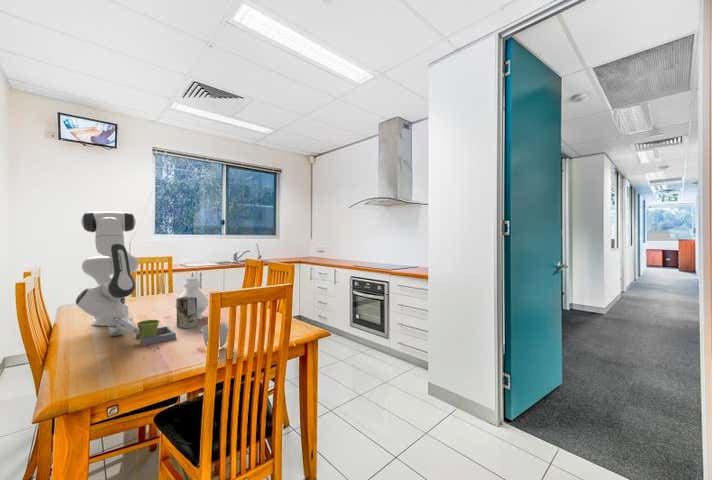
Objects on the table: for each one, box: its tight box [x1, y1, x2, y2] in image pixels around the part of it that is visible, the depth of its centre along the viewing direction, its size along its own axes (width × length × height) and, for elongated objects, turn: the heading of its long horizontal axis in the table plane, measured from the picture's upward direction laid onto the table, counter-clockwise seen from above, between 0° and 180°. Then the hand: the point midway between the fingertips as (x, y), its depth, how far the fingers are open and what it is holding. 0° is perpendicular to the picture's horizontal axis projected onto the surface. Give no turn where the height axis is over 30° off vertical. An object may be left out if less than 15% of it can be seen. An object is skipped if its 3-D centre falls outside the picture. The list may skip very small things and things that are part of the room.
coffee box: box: [175, 297, 198, 329], centre depth 174 cm, size 9×6×16 cm
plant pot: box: [136, 319, 161, 341], centre depth 152 cm, size 9×9×9 cm
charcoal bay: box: [135, 325, 177, 347], centre depth 155 cm, size 15×14×3 cm
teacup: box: [200, 323, 230, 348], centre depth 143 cm, size 12×15×10 cm
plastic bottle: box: [108, 299, 125, 337], centre depth 158 cm, size 6×7×20 cm
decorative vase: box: [175, 276, 209, 320], centre depth 190 cm, size 18×18×25 cm
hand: (138, 332), depth 150 cm, fingers closed, pressing on plant pot
